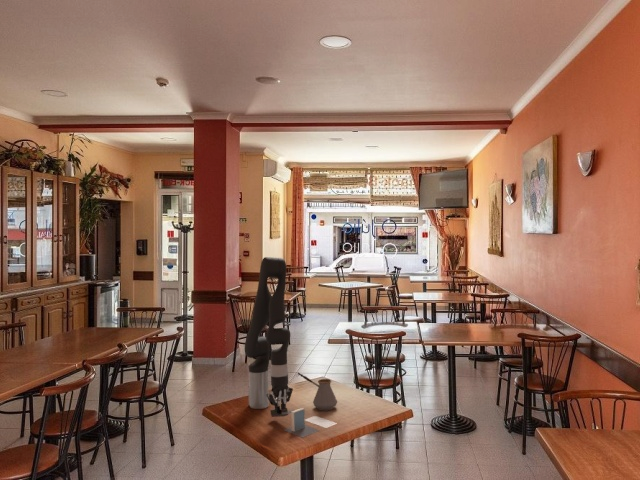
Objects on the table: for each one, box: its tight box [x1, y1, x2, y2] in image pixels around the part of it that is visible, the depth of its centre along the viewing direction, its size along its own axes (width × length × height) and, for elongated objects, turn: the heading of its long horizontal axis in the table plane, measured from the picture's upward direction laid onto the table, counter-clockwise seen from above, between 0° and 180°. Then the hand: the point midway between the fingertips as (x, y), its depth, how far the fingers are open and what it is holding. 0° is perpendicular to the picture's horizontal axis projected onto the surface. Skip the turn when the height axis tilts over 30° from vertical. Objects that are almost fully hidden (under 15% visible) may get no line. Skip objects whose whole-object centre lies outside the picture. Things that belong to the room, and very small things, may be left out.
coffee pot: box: [295, 372, 338, 411], centre depth 247 cm, size 21×12×15 cm, turn 59°
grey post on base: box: [269, 407, 295, 418], centre depth 225 cm, size 13×4×3 cm, turn 44°
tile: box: [290, 407, 306, 431], centre depth 217 cm, size 2×6×8 cm, turn 134°
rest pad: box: [305, 415, 338, 429], centre depth 225 cm, size 14×7×1 cm, turn 44°
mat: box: [283, 424, 321, 438], centre depth 216 cm, size 12×10×1 cm
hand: (280, 413), depth 226 cm, fingers closed on grey post on base, 2 cm apart
